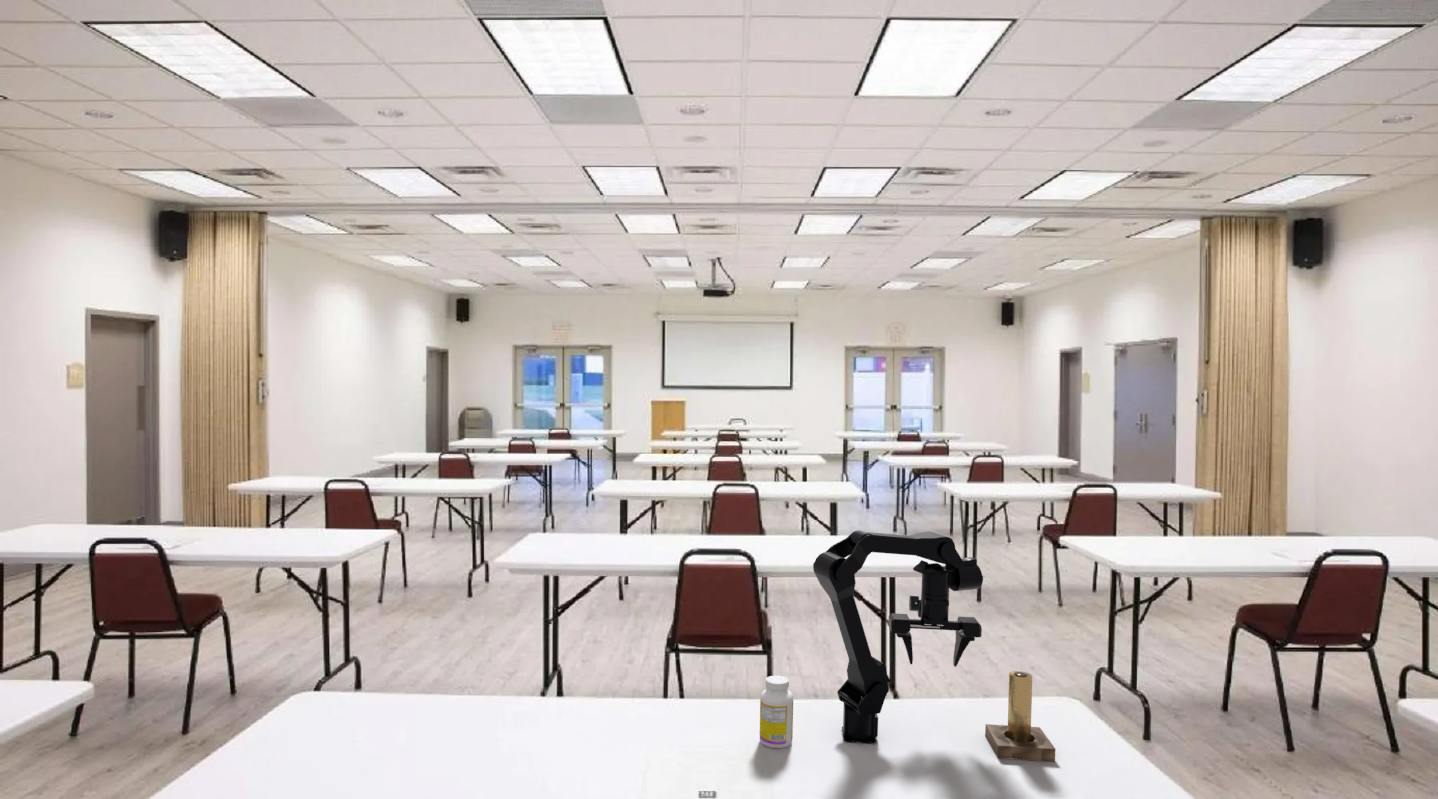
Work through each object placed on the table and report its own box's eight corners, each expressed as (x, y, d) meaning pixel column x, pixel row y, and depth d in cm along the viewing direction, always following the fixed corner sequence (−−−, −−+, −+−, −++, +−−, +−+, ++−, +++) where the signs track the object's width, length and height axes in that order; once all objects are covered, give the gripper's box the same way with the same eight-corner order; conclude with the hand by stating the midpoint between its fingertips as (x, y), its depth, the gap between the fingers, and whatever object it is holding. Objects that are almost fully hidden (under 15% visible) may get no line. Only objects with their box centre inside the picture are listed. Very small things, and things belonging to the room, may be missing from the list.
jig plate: (997, 758, 163) (997, 745, 163) (985, 735, 173) (985, 724, 173) (1054, 761, 162) (1055, 748, 162) (1039, 739, 172) (1039, 727, 172)
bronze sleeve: (1015, 754, 165) (1017, 679, 164) (1002, 744, 169) (1004, 671, 168) (1035, 752, 166) (1037, 677, 165) (1021, 742, 170) (1023, 669, 169)
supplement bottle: (774, 732, 172) (776, 671, 171) (799, 743, 167) (800, 680, 167) (752, 741, 167) (754, 678, 167) (777, 753, 162) (778, 688, 162)
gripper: (971, 585, 184) (969, 654, 184) (886, 581, 185) (884, 650, 186) (983, 598, 173) (980, 672, 173) (892, 594, 174) (890, 667, 175)
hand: (932, 664), depth 177 cm, fingers open, 9 cm apart
